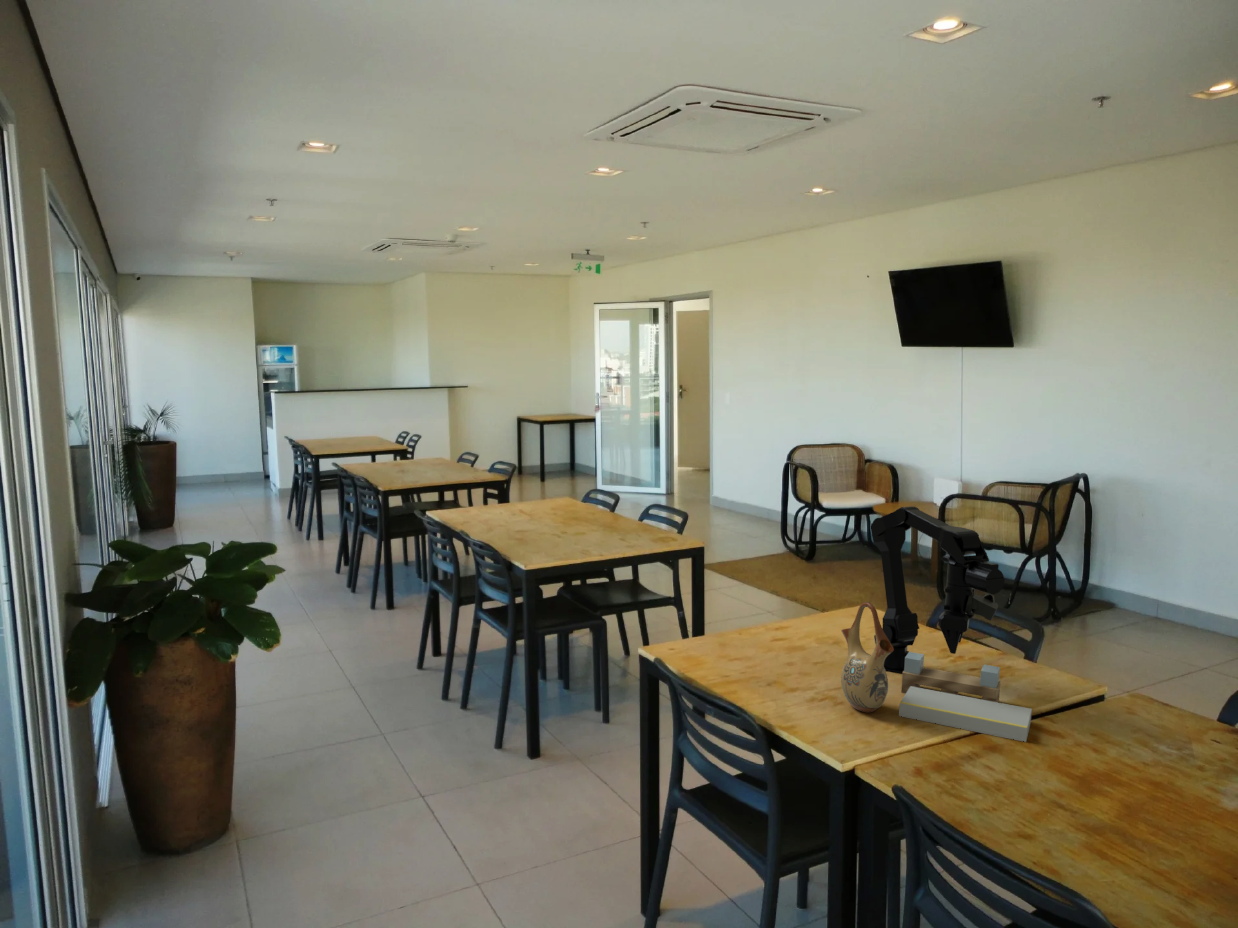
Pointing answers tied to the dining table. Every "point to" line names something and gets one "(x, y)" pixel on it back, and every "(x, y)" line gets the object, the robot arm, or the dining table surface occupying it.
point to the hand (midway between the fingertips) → (955, 647)
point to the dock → (966, 713)
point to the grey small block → (914, 663)
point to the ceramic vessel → (865, 666)
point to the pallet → (949, 683)
